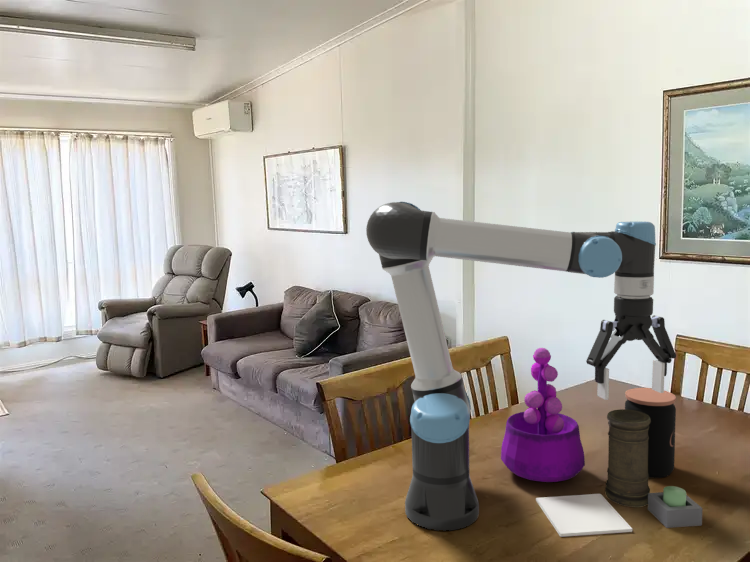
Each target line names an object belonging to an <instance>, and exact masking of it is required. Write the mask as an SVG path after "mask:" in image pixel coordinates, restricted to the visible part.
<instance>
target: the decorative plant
mask: <svg viewBox="0 0 750 562" xmlns="http://www.w3.org/2000/svg"><path fill="white" fill-rule="evenodd" d="M532 357H533V360H534V363H533V364H532V365H531V367H530V374H531V376H532V379H534V380H535V381H536V382H537V390H532V391H530V392H527V393H526V394H525V396H524V401H523V402H524V403H525V405H526V406H527V407H528V408H527V409H526V410H525V411H522V412H517V413H515V414H512V415H510V416H509V417H507V421H506V424H505V431H504V436H503V439H502V443H501V452H500V460H501V461H502V463H503V464H504V465H505V467H507V469H508V470H509V471H510V473H513V474H515V475H516V476H517V477H521V478H523V479H527V480H530V481H536V482H542V483H543V482H544V483H545V482H546V483H553V482H554V483H556V482H562V481H567V480H570V479H572V478H574V477H576V476H577V475H578V474H579V473H580V472H581V471H582V470H583V468H584V467H585V465H586V462H585V461H586V459H585V451H584V447H583V444H582V439H581V435H580V425H579V423H578V422H577V421H576V420H575V419H574V418H573V417H570V416H568V415H565V414H562V413H560V412H561V411H562V410H563V403H562V402H561V400H560V399H559V398H558V397H557V389H556V387H555V386H554V385H553V384H551V383H552V382H554V381H555V380H556V379H557V378H558V375H559V373H558V370H557V369H556V368H555V367H554V366H552V365H550V364H549V363H550V361H551V360H552V359H551V357H552V355H551V352H550V350H548V349H547V348H545V347H539V348H537V349H535V351H534V353H533V355H532ZM548 382H551V383H548Z"/></svg>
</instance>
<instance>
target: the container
mask: <svg viewBox="0 0 750 562" xmlns="http://www.w3.org/2000/svg"><path fill="white" fill-rule="evenodd" d="M606 419H607V421H608V422H607V424H608V432H607V435H608V447H607V448H608V461H607V462H608V463H607V464H608V465H607V466H608V467H607V471H606V472H607V480H606V482H605V489H604V494H605V497H606V498H607V499H608V500H609V501H612V502H613V503H615V504H617V505H620V506H625V507H629V508H630V507H631V508H641V507H645V506H648V493H651V488H650V486H649V475H648V440H649V436H648V430H649V424H650V422H651V419H650V417H649V416H648V415H647V414H645V413H642V412H639V411H635V410H626V409H625V408H624V409H623V408H622V409H621V408H620V409H614V410H613V409H612V410H611V411H609V412H608V413H607V416H606Z"/></svg>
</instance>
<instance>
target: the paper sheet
mask: <svg viewBox="0 0 750 562" xmlns="http://www.w3.org/2000/svg"><path fill="white" fill-rule="evenodd" d="M535 502H536V504H537V505H538V506H539V507H540V508H541V511H542V512H543V513H544V515H545V516H546V518H547V519H548V521H549V522H550V523H551V525H552V526H553V528H554V530H555V531H556V532H557V534H558V536H559V537H574V536H575V537H576V536H577V537H578V536H592V535H603V534H619V533H632V532H633V527H631V525H629V523H628V522H627V521H626V520H625V518H623V517H622V516H621V515H620V513H619V512H618V511H617V510H616V509H615V507H613V506H612V505H611V503H609V502H608V500H607V499H606V498H605V497H604V495H602V494H601V493H592V494H591V493H590V494H589V493H588V494H574V495H560V496H547V497H545V496H542V497H536V498H535Z"/></svg>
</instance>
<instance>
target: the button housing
mask: <svg viewBox="0 0 750 562" xmlns="http://www.w3.org/2000/svg"><path fill="white" fill-rule="evenodd" d="M647 511H649V512H650V513H651V514H652V515H653V516H654V517H655V518H656V519H657V520H658V521H659V522H660V523H661V524H662V525H663V526H664V527H665V528H666V529H669V528H670V529H671V528H682V527H683V528H684V527H685V528H686V527H698V526H699V527H700V526H702V525H703V507H702V506H700V505H699V503H697V502H696V501H695V500H693V499H692V498H691V497H690V496H689V495H687V494H686V506H678V507H669V506H668V505H667V504H666V503H665V502H664V501H663V491H661V492H650V493H648V504H647Z"/></svg>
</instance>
